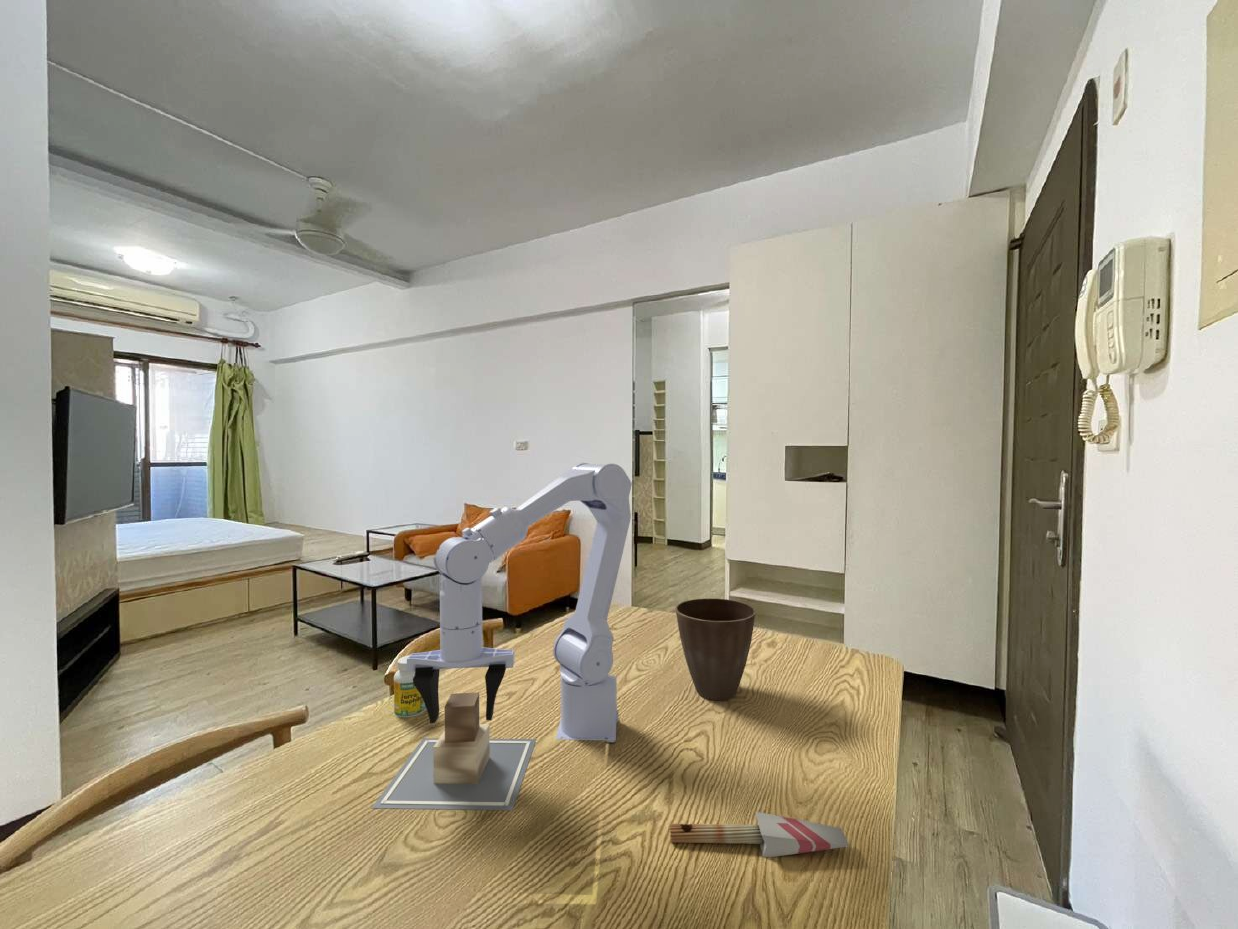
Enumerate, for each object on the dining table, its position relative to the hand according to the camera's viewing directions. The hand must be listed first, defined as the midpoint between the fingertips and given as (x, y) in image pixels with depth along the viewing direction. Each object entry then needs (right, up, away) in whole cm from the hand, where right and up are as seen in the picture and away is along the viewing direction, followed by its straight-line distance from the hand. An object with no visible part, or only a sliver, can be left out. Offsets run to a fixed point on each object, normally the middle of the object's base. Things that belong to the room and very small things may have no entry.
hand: (462, 718), depth 72 cm
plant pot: (+41, -8, +25) cm, 48 cm away
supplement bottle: (-15, -8, +17) cm, 24 cm away
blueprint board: (0, -8, 0) cm, 8 cm away
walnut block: (0, -2, 0) cm, 2 cm away
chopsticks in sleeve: (+38, -9, -13) cm, 41 cm away
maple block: (0, -7, 0) cm, 7 cm away
